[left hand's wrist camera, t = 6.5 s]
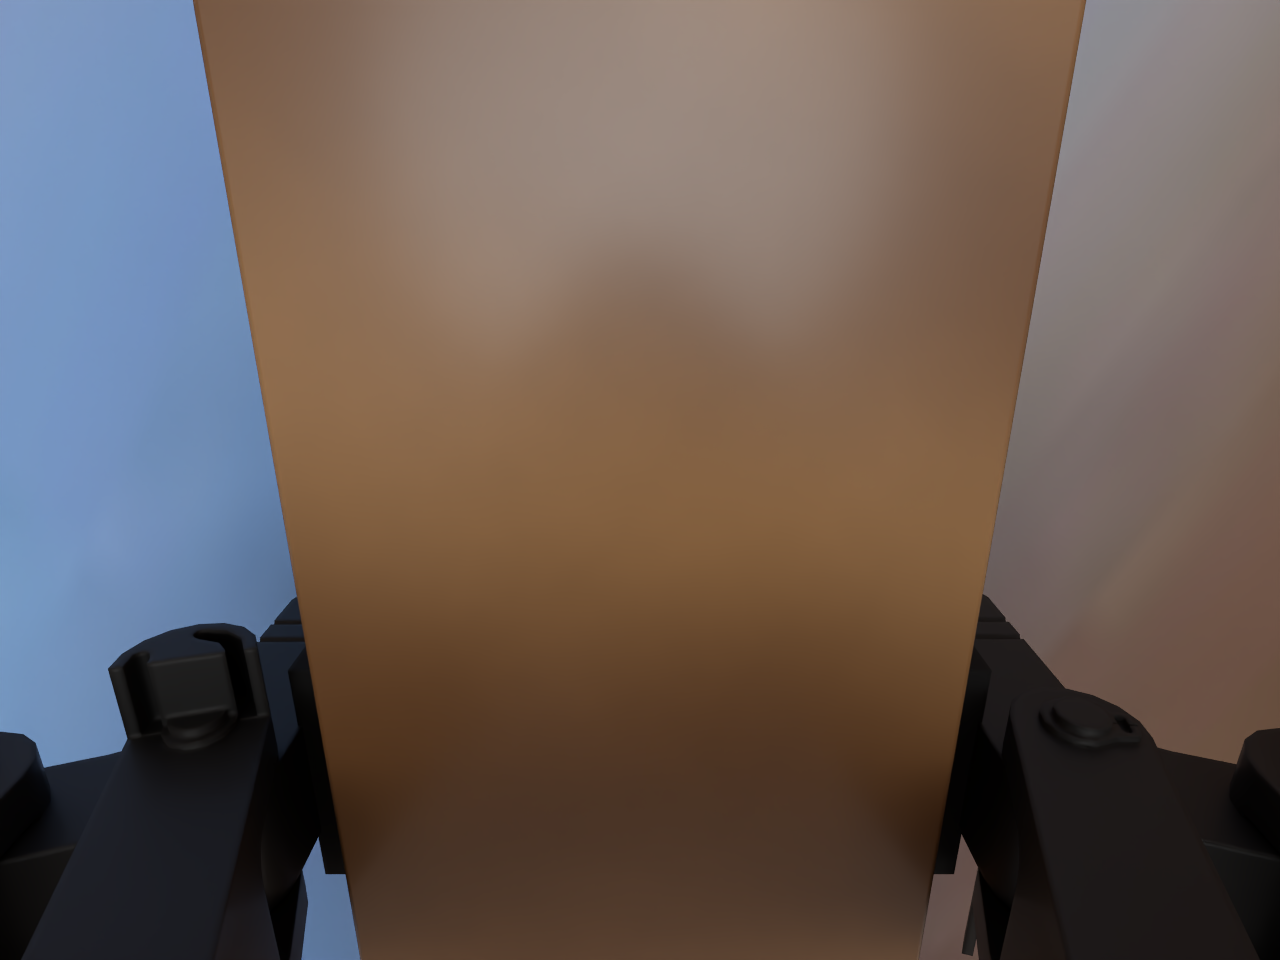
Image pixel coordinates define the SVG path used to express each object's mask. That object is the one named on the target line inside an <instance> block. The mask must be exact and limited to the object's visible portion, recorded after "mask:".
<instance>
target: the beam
mask: <svg viewBox="0 0 1280 960" xmlns="http://www.w3.org/2000/svg"><path fill="white" fill-rule="evenodd" d="M193 4H194V10H195V15H196V21H197V27H198V33H199V38H200V44H201V50H202V55H203V61H204V67H205V73H206V78H207V84H208V90H209V95H210V101H211V107H212V113H213V118H214V124H215V130H216V136H217V141H218V147H219V153H220V158H221V164H222V170H223V176H224V181H225V187H226V193H227V198H228V204H229V210H230V216H231V221H232V227H233V233H234V239H235V244H236V250H237V256H238V261H239V267H240V273H241V279H242V284H243V290H244V296H245V301H246V307H247V313H248V319H249V324H250V330H251V336H252V341H253V347H254V353H255V359H256V364H257V370H258V376H259V382H260V387H261V393H262V399H263V404H264V410H265V416H266V422H267V427H268V433H269V439H270V444H271V450H272V456H273V462H274V467H275V473H276V479H277V484H278V490H279V496H280V502H281V507H282V513H283V519H284V525H285V530H286V536H287V542H288V547H289V553H290V559H291V565H292V570H293V576H294V582H295V587H296V593H297V599H298V605H299V610H300V616H301V622H302V628H303V633H304V639H305V645H306V650H307V656H308V662H309V668H310V673H311V679H312V685H313V690H314V696H315V702H316V708H317V713H318V719H319V725H320V730H321V736H322V742H323V748H324V753H325V759H326V765H327V771H328V776H329V782H330V788H331V793H332V799H333V805H334V811H335V816H336V822H337V828H338V833H339V839H340V845H341V851H342V856H343V862H344V868H345V873H346V879H347V885H348V891H349V896H350V902H351V908H352V914H353V919H354V925H355V931H356V936H357V942H358V948H359V954H360V959H361V960H919V955H920V949H921V944H922V938H923V932H924V926H925V921H926V915H927V909H928V903H929V898H930V892H931V886H932V881H933V875H934V869H935V863H936V858H937V852H938V846H939V840H940V835H941V829H942V823H943V817H944V812H945V806H946V800H947V795H948V789H949V783H950V777H951V772H952V766H953V760H954V754H955V749H956V743H957V737H958V732H959V726H960V720H961V714H962V709H963V703H964V697H965V691H966V686H967V680H968V674H969V669H970V663H971V657H972V651H973V646H974V640H975V634H976V628H977V623H978V617H979V611H980V605H981V600H982V594H983V588H984V583H985V577H986V571H987V565H988V560H989V554H990V548H991V542H992V537H993V531H994V525H995V520H996V514H997V508H998V502H999V497H1000V491H1001V485H1002V479H1003V474H1004V468H1005V462H1006V457H1007V451H1008V445H1009V439H1010V434H1011V428H1012V422H1013V416H1014V411H1015V405H1016V399H1017V394H1018V388H1019V382H1020V376H1021V371H1022V365H1023V359H1024V353H1025V348H1026V342H1027V336H1028V330H1029V325H1030V319H1031V313H1032V308H1033V302H1034V296H1035V290H1036V285H1037V279H1038V273H1039V267H1040V262H1041V256H1042V250H1043V245H1044V239H1045V233H1046V227H1047V222H1048V216H1049V210H1050V204H1051V199H1052V193H1053V187H1054V182H1055V176H1056V170H1057V164H1058V159H1059V153H1060V147H1061V141H1062V136H1063V130H1064V124H1065V119H1066V113H1067V107H1068V101H1069V96H1070V90H1071V84H1072V78H1073V73H1074V67H1075V61H1076V55H1077V50H1078V44H1079V38H1080V33H1081V27H1082V21H1083V15H1084V10H1085V4H1086V0H193Z"/></svg>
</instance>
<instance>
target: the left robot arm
mask: <svg viewBox="0 0 1280 960" xmlns="http://www.w3.org/2000/svg"><path fill="white" fill-rule="evenodd" d="M108 671H109V674H110V678H111V681H112V685H113V689H114V692H115V696H116V699H117V703H118V706H119V710H120V713H121V717H122V720H123V724H124V728H125V731H126V735H127V738H128V739H127V741H126V743H125V745H124V747H123V749H122V751H121V752H117V753H114V754H110V755H105V756H100V757H95V758H90V759H85V760H80V761H76V762H71V763H66V764H61V765H56V766H51V767H46V768H44V767H43V764H42V761H41V758H40V755H39V752H38V749H37V746H36V743H35V742H33V741H32V740H31V739H29V738H28V737H26V736H25V735H24V734H16V733H7V732H0V960H301V957H302V949H303V941H304V932H305V924H306V916H307V907H308V899H307V892H306V886H305V881H304V876H303V871H302V869H303V867H304V865H305V863H306V861H307V859H308V857H309V855H310V853H311V851H312V849H313V847H314V845H315V843H316V841H317V839H318V837H319V842H320V847H321V852H322V858H323V863H324V868H325V874H346V873H345V868H344V862H343V856H342V851H341V845H340V839H339V833H338V828H337V822H336V816H335V811H334V805H333V799H332V793H331V788H330V782H329V776H328V771H327V765H326V759H325V753H324V748H323V742H322V736H321V730H320V725H319V719H318V713H317V708H316V702H315V696H314V690H313V685H312V679H311V673H310V668H309V662H308V656H307V650H306V645H305V639H304V633H303V628H302V622H301V616H300V610H299V605H298V599H297V597H296V598H294V599H293V600H291V602H290V603H289V604H288V605H287V606H286V607H285V609H284V610H283V611H282V612H281V613H280V615H279V616H278V617H277V618H276V619H275V623H274V625H270V627H269V628H268V629H267V630H266V631H265V632H264V634H263V635H262V636H261V637H260V642H257V641H256V636H255V635H254V634H253V633H251V632H250V631H249V630H247V629H246V628H245V627H242V626H236V625H231V624H226V623H216V624H198V625H193V626H189V627H184V628H179V629H175V630H171V631H168V632H165V633H163V634H160V635H158V636H155V637H152V638H150V639H147V640H144V641H143V642H141V643H139V644H138V645H136V646H134V647H133V648H131V649H129V650H128V651H126V652H124V653H123V654H121V656H120V657H119V658H118V659H117V660H116V661H115V662H114V663H113V664H112V665H111V666H110V667H109V668H108ZM961 834H962V836H963V838H964V840H965V842H966V844H967V846H968V848H969V850H970V852H971V854H972V856H973V858H974V860H975V862H976V864H977V866H978V871H977V876H976V881H975V886H974V891H973V896H972V901H971V906H970V911H969V916H968V921H967V926H966V931H965V936H964V942H963V949H962V954H967V955H971V956H973V952H974V947H975V942H976V939H977V947H978V955H979V960H1280V728H1276V729H1267V730H1258V731H1256V732H1255V733H1253V734H1252V735H1250V736H1249V737H1248V738H1246V739H1245V741H1244V744H1243V747H1242V750H1241V753H1240V756H1239V759H1238V762H1237V764H1232V763H1227V762H1222V761H1217V760H1212V759H1207V758H1202V757H1197V756H1192V755H1187V754H1182V753H1177V752H1172V751H1168V750H1164V749H1161V748H1157V746H1156V744H1155V742H1154V740H1153V738H1152V737H1151V735H1150V734H1149V733H1148V731H1147V730H1146V729H1145V728H1144V726H1143V725H1142V724H1141V723H1140V721H1138V720H1137V719H1135V718H1134V717H1133V716H1131V715H1130V714H1128V713H1127V712H1125V711H1124V710H1123V709H1121V708H1120V707H1118V706H1116V705H1114V704H1111V703H1109V702H1107V701H1105V700H1102V699H1100V698H1098V697H1096V696H1093V695H1090V694H1086V693H1082V692H1078V691H1074V690H1070V689H1065V688H1064V686H1063V685H1062V684H1061V683H1060V682H1059V680H1058V679H1057V678H1056V677H1055V676H1054V675H1053V673H1052V672H1051V671H1050V670H1049V669H1048V667H1047V666H1046V665H1045V664H1044V663H1043V662H1042V660H1041V659H1040V658H1039V657H1038V656H1037V654H1036V653H1035V652H1034V651H1033V650H1032V649H1031V647H1030V646H1029V645H1028V644H1027V643H1026V641H1025V640H1024V639H1020V634H1019V633H1018V632H1017V631H1016V630H1015V628H1014V627H1013V626H1012V625H1011V624H1010V623H1009V622H1006V621H1005V617H1004V615H1003V614H1002V613H1001V612H1000V611H999V610H998V608H997V607H996V606H995V605H994V604H993V602H992V601H991V600H990V599H989V598H988V597H987V596H985V595H983V594H982V600H981V605H980V611H979V617H978V623H977V628H976V634H975V640H974V646H973V651H972V657H971V663H970V669H969V674H968V680H967V686H966V691H965V697H964V703H963V709H962V714H961V720H960V726H959V732H958V737H957V743H956V749H955V754H954V760H953V766H952V772H951V777H950V783H949V789H948V795H947V800H946V806H945V812H944V817H943V823H942V829H941V835H940V840H939V846H938V852H937V858H936V863H935V869H934V874H954V871H955V865H956V860H957V855H958V849H959V844H960V839H961Z"/></svg>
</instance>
